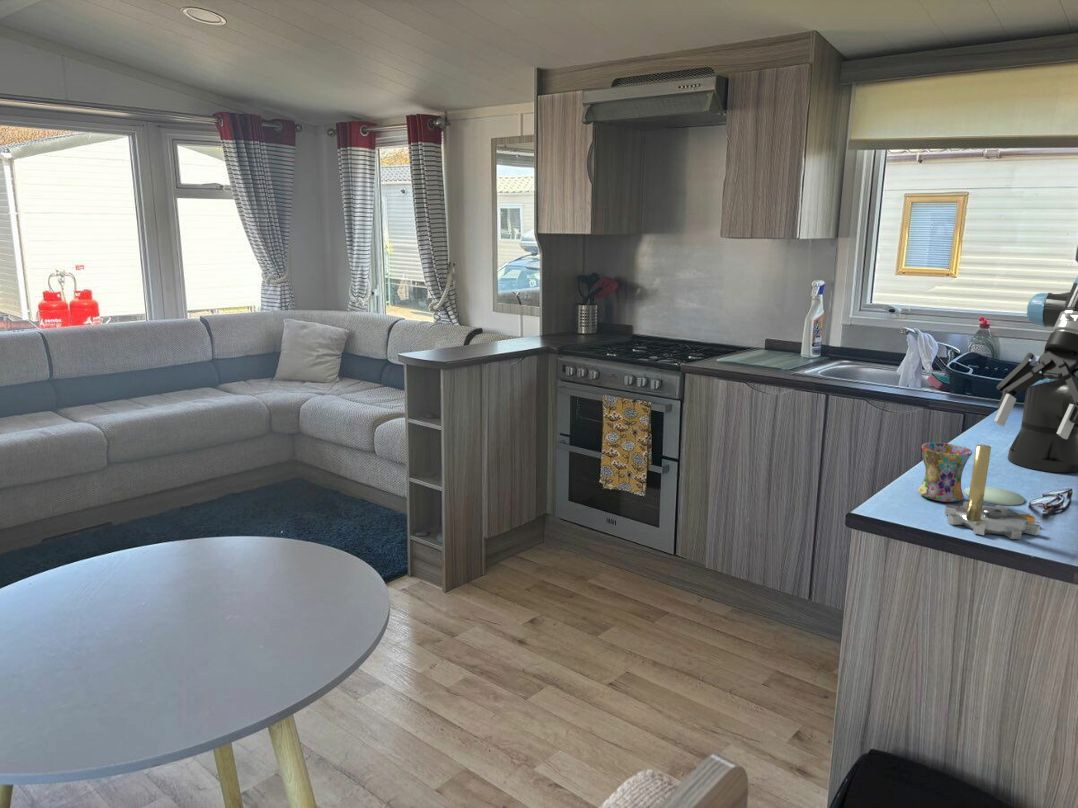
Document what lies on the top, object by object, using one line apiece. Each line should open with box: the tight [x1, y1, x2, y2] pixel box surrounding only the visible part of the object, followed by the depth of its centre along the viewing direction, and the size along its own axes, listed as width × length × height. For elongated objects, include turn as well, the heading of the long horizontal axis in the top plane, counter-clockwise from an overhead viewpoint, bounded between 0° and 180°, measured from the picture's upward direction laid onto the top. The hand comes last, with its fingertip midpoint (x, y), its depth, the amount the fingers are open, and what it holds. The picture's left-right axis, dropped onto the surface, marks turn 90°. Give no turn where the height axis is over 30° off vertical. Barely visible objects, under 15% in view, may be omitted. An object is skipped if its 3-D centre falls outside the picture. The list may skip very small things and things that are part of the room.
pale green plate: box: [963, 486, 1026, 506], centre depth 167 cm, size 11×11×1 cm
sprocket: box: [944, 444, 1041, 540], centre depth 149 cm, size 15×15×16 cm
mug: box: [917, 442, 973, 503], centre depth 166 cm, size 12×9×11 cm
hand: (1029, 430), depth 165 cm, fingers open, 13 cm apart
